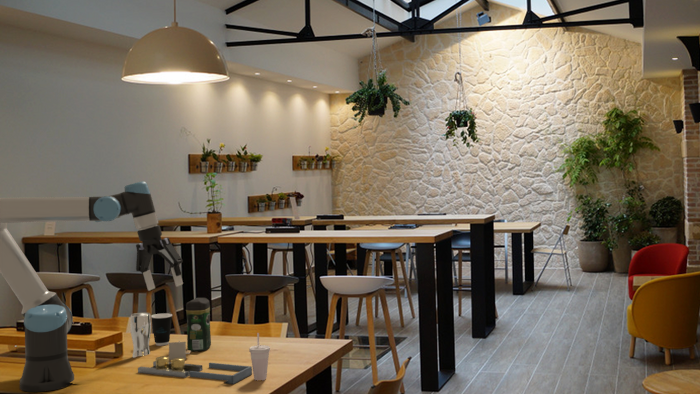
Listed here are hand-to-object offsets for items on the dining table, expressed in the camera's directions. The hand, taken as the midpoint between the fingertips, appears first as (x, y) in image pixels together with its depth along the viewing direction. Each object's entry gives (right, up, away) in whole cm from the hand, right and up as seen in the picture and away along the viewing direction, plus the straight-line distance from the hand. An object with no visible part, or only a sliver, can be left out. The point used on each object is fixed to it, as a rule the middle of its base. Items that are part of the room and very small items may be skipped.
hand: (165, 287), depth 225 cm
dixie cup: (-9, -26, +28) cm, 39 cm away
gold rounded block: (+3, -25, -13) cm, 28 cm away
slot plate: (+5, -26, -14) cm, 30 cm away
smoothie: (+35, -25, -21) cm, 48 cm away
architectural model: (+4, -26, +1) cm, 26 cm away
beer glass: (-11, -26, +9) cm, 30 cm away
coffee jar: (+7, -25, +19) cm, 33 cm away
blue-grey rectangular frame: (+22, -25, -18) cm, 38 cm away
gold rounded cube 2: (+8, -25, -15) cm, 30 cm away
